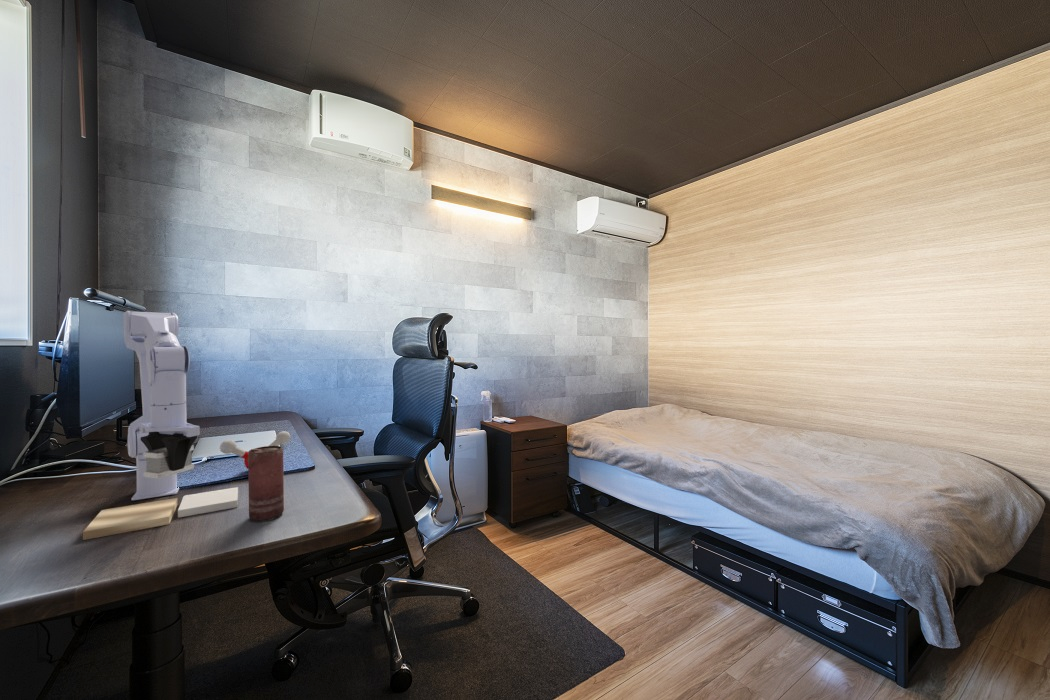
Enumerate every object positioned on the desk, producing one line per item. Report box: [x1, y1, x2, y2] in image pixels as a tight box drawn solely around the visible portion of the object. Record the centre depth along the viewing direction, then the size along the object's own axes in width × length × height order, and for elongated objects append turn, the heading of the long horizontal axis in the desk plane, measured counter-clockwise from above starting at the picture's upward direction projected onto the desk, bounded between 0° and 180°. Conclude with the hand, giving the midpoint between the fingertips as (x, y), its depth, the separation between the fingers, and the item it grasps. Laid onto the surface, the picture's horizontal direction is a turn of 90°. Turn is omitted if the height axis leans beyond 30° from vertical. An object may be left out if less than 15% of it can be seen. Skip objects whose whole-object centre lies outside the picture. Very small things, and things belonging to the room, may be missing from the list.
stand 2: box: [177, 486, 239, 518], centre depth 92 cm, size 10×10×2 cm
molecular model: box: [219, 430, 291, 470], centre depth 117 cm, size 18×6×10 cm, turn 145°
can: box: [247, 445, 285, 523], centre depth 86 cm, size 6×6×14 cm
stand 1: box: [82, 497, 179, 541], centre depth 84 cm, size 12×12×2 cm
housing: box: [143, 444, 195, 478], centre depth 87 cm, size 7×4×5 cm, turn 164°
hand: (169, 468), depth 87 cm, fingers closed on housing, 4 cm apart
